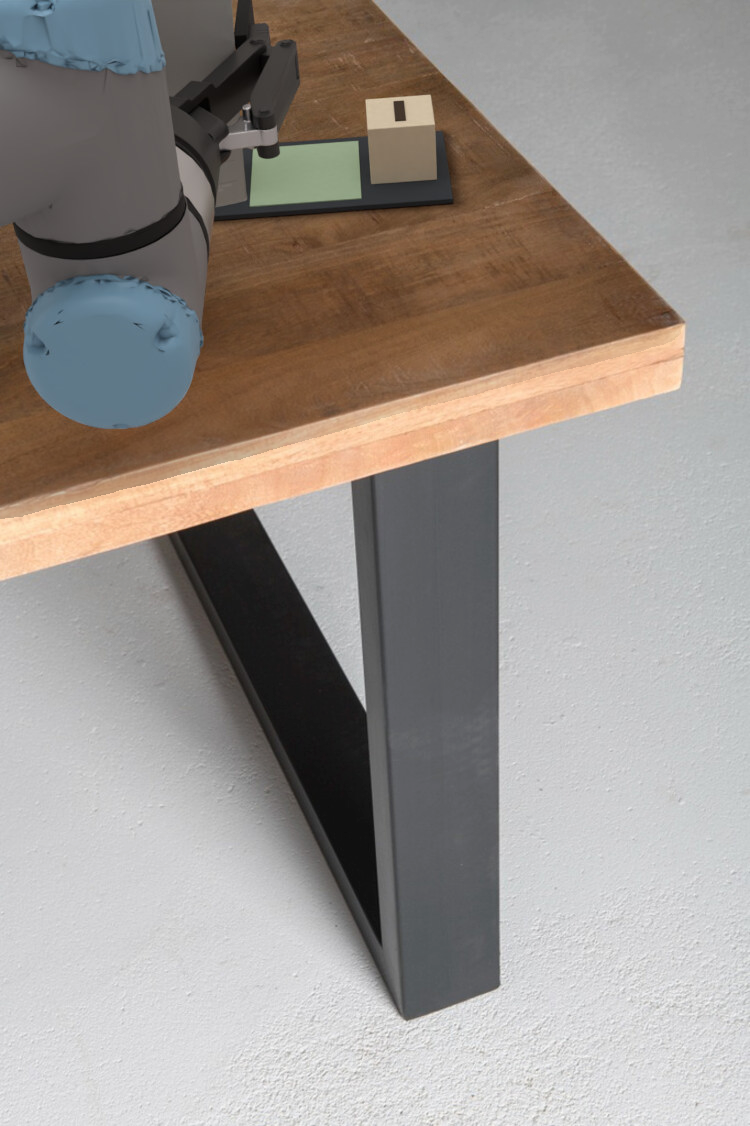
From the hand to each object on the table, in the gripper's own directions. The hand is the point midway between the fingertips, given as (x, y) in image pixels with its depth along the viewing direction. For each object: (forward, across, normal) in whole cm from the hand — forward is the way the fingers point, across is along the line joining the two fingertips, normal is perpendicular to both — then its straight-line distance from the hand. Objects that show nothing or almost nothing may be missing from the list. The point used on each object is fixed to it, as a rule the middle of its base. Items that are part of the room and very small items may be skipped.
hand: (176, 18), depth 88 cm
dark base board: (+12, +6, -18) cm, 23 cm away
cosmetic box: (-5, 0, -9) cm, 10 cm away
